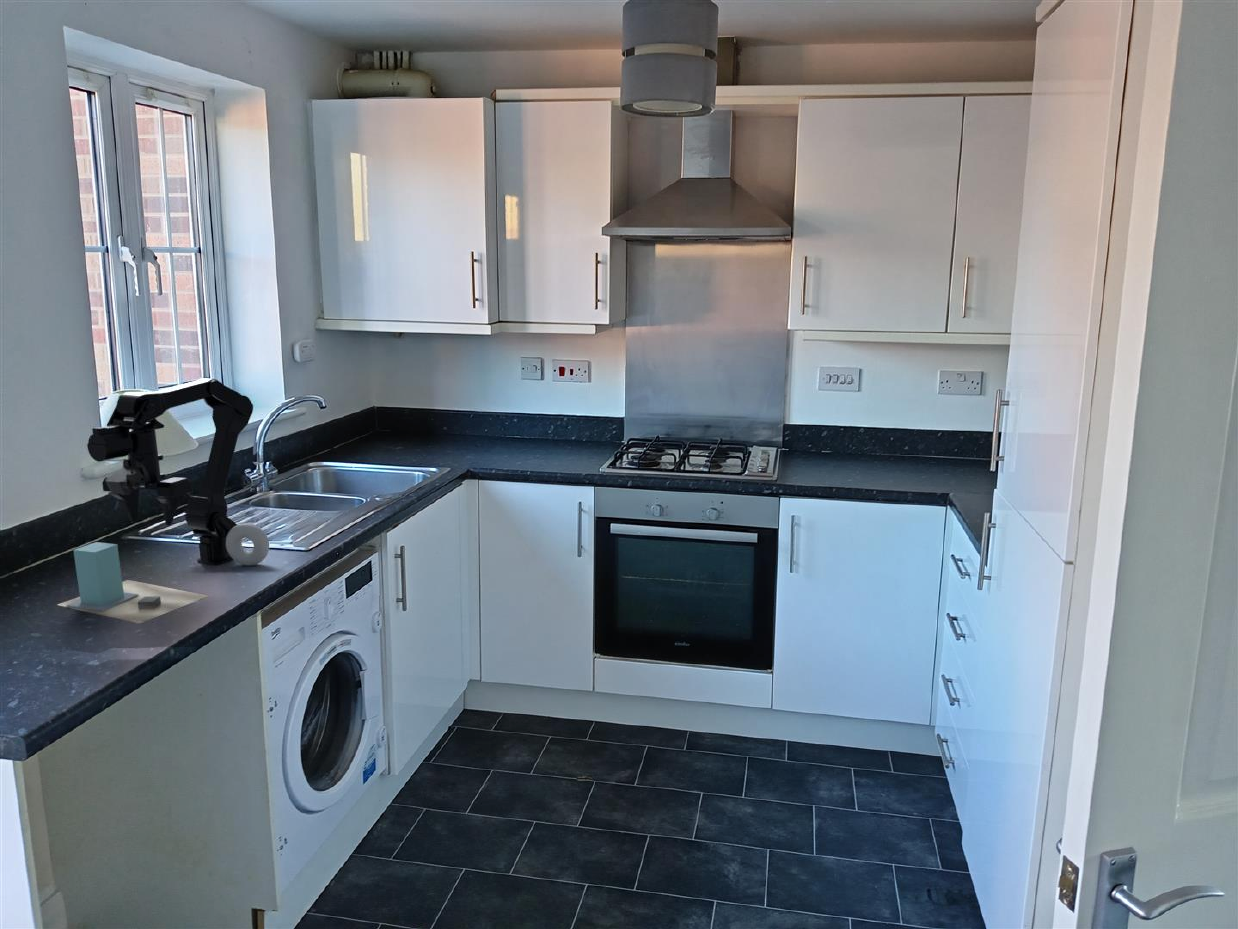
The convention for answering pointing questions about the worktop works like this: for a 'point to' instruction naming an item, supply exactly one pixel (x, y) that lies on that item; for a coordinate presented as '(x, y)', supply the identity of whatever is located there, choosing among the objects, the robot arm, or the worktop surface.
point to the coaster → (105, 607)
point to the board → (145, 591)
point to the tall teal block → (98, 573)
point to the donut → (255, 536)
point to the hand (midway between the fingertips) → (151, 523)
